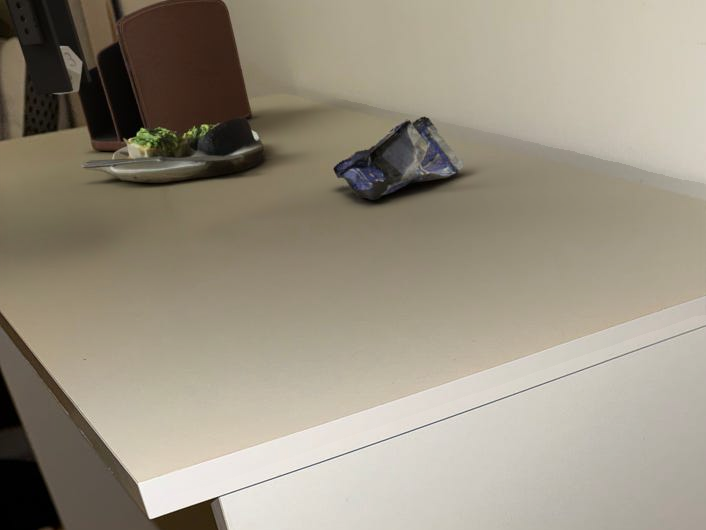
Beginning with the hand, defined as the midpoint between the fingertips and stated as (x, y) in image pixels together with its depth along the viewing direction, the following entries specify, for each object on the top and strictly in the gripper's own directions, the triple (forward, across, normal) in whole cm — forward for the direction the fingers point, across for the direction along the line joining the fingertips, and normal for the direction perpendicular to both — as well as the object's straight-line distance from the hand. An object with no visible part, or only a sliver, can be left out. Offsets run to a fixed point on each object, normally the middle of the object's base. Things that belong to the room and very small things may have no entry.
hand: (64, 87), depth 74 cm
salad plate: (+12, +28, -1) cm, 30 cm away
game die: (+1, 0, 0) cm, 1 cm away
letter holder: (+12, +48, +6) cm, 49 cm away
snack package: (+12, +10, -25) cm, 29 cm away
